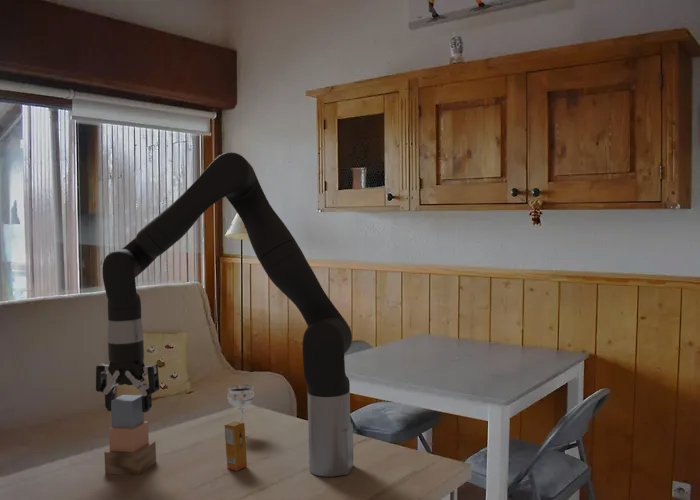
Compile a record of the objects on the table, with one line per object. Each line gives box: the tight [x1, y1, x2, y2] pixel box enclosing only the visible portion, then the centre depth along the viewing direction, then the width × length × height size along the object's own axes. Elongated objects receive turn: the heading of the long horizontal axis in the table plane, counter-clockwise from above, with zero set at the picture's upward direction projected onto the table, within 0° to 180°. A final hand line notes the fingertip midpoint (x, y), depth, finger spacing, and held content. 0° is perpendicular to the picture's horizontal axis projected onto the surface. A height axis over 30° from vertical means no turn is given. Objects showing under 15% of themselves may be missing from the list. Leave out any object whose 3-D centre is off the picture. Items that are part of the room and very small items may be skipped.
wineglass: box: [227, 384, 255, 438], centre depth 169 cm, size 7×7×12 cm
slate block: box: [110, 394, 145, 428], centre depth 147 cm, size 5×5×6 cm
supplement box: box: [224, 421, 248, 472], centre depth 146 cm, size 3×4×10 cm
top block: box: [108, 420, 150, 452], centre depth 147 cm, size 6×6×5 cm
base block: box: [104, 440, 157, 476], centre depth 148 cm, size 8×8×5 cm
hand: (128, 410), depth 147 cm, fingers open, 8 cm apart
